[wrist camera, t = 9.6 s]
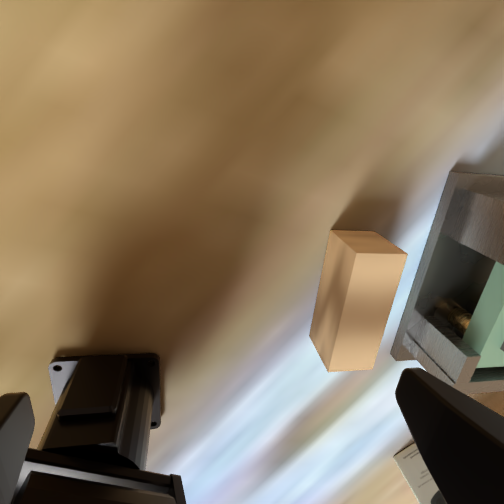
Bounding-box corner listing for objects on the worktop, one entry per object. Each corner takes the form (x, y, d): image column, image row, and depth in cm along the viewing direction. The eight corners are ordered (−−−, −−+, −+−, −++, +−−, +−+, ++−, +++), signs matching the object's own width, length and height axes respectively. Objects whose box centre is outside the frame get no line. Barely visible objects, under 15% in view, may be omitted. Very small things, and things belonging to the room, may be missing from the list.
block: (348, 334, 24) (372, 369, 21) (309, 335, 23) (328, 372, 20) (374, 231, 21) (407, 254, 18) (330, 230, 20) (356, 253, 17)
